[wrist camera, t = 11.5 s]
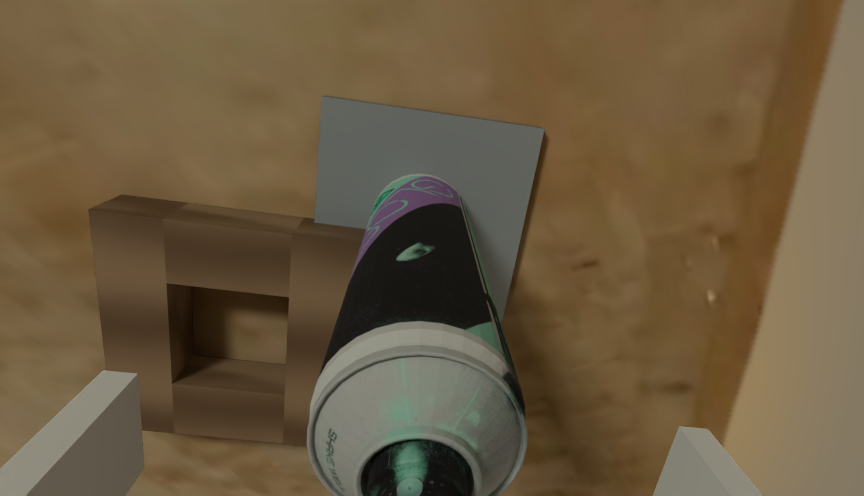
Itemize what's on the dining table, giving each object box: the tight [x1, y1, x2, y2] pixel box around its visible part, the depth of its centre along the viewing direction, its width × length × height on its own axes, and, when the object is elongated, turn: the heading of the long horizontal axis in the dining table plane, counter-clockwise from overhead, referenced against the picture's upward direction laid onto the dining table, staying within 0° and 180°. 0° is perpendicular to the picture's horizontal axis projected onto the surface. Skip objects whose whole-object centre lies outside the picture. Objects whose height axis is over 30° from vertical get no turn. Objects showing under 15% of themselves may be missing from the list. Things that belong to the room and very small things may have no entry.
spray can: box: [307, 173, 527, 496], centre depth 19 cm, size 6×6×20 cm
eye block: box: [88, 195, 366, 446], centre depth 29 cm, size 14×14×3 cm
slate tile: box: [314, 96, 545, 322], centre depth 28 cm, size 12×12×1 cm
